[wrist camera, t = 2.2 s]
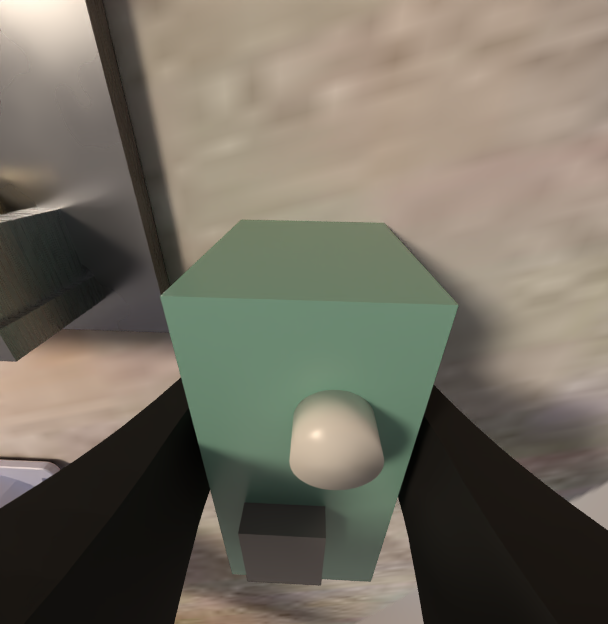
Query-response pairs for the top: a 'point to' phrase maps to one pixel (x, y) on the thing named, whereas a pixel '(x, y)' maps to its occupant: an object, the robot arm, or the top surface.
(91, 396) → the top surface
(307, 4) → the top surface
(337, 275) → the green knobbed block
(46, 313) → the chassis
